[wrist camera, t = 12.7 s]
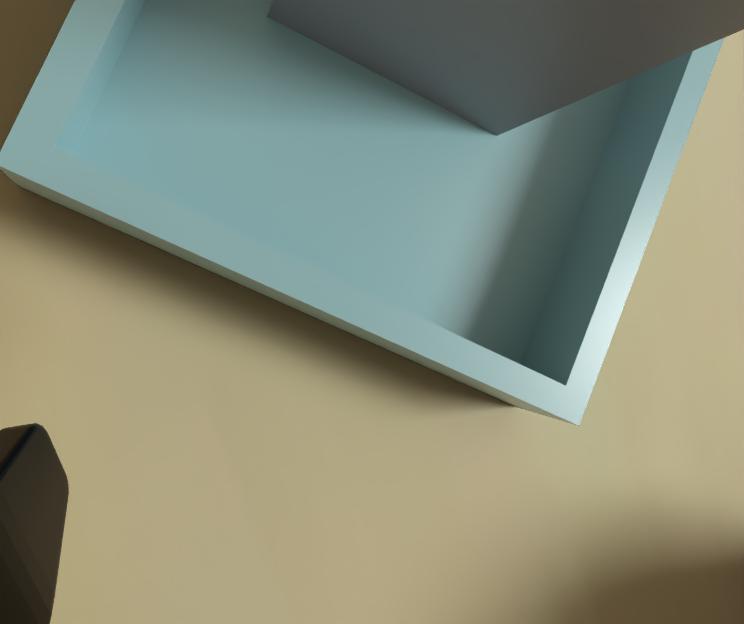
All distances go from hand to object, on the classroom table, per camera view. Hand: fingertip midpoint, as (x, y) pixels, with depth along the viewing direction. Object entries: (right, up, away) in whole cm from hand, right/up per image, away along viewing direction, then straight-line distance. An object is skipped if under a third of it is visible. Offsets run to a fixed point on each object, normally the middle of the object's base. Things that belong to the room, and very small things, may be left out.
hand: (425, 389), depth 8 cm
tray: (0, +8, +11) cm, 13 cm away
